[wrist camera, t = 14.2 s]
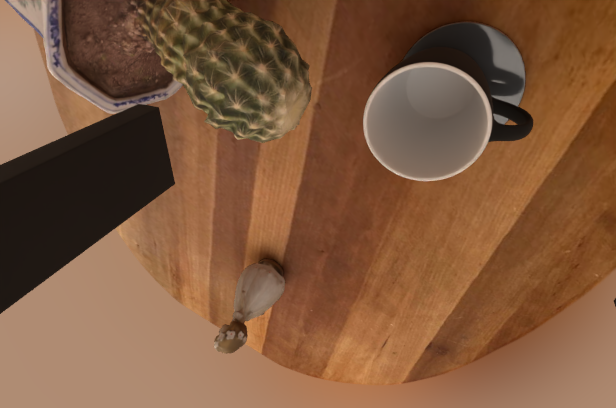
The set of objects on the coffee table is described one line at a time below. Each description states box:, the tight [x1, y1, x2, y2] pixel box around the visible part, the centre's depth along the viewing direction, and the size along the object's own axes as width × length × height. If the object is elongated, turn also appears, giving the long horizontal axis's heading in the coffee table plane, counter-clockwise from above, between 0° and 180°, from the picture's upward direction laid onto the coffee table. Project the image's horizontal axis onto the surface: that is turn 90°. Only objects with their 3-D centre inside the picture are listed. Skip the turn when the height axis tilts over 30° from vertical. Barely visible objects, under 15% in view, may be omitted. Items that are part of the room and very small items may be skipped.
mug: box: [363, 47, 533, 181], centre depth 30 cm, size 12×9×10 cm
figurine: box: [214, 259, 285, 353], centre depth 53 cm, size 8×7×15 cm
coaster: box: [403, 21, 526, 124], centre depth 34 cm, size 11×11×1 cm
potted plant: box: [5, 0, 312, 143], centre depth 32 cm, size 18×18×30 cm
